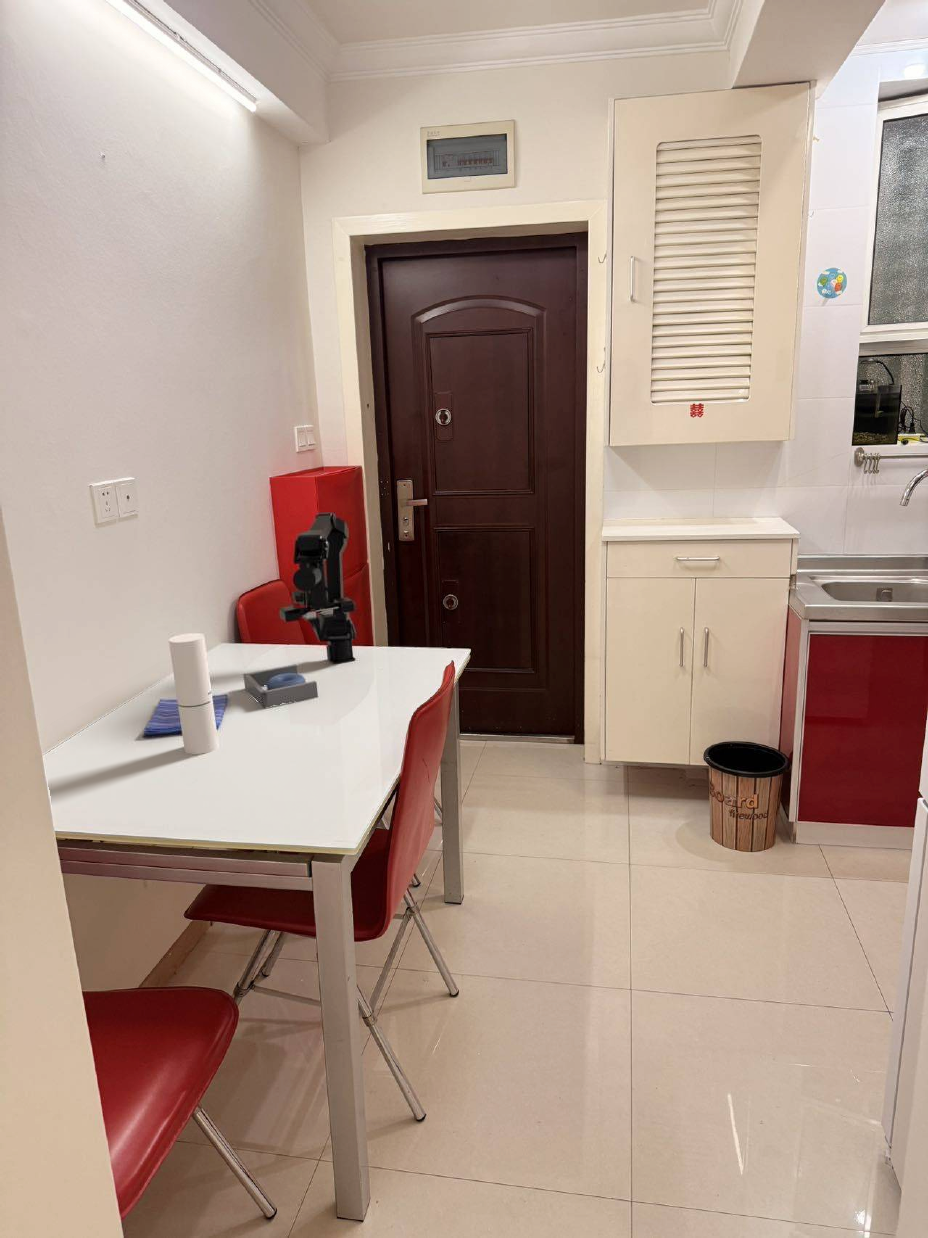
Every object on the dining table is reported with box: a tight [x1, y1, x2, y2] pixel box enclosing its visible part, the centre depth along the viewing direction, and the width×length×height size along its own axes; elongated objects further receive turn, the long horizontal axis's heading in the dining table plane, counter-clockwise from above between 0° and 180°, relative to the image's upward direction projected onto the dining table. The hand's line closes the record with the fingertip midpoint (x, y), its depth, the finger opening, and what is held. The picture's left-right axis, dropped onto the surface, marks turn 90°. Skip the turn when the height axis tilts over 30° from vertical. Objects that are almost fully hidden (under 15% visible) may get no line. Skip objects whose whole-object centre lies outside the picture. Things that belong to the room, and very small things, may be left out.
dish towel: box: [142, 694, 229, 739], centre depth 204 cm, size 17×24×3 cm
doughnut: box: [266, 673, 307, 690], centre depth 219 cm, size 10×10×5 cm
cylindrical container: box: [168, 632, 220, 755], centre depth 181 cm, size 7×7×25 cm
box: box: [243, 664, 319, 709], centre depth 217 cm, size 14×18×4 cm
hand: (320, 641), depth 220 cm, fingers closed
